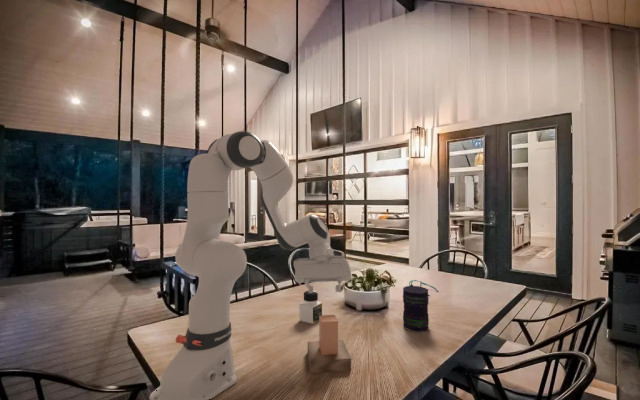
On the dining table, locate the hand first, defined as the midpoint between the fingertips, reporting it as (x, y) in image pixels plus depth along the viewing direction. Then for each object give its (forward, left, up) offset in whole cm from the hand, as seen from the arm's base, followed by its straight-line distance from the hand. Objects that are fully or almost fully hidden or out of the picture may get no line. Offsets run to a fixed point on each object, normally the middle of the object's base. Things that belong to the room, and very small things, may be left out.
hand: (324, 291), depth 99 cm
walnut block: (-7, -4, -20) cm, 21 cm away
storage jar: (+31, -27, -20) cm, 45 cm away
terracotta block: (-7, -4, -16) cm, 18 cm away
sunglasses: (+82, -27, -20) cm, 89 cm away
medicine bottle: (+21, +15, -20) cm, 32 cm away
